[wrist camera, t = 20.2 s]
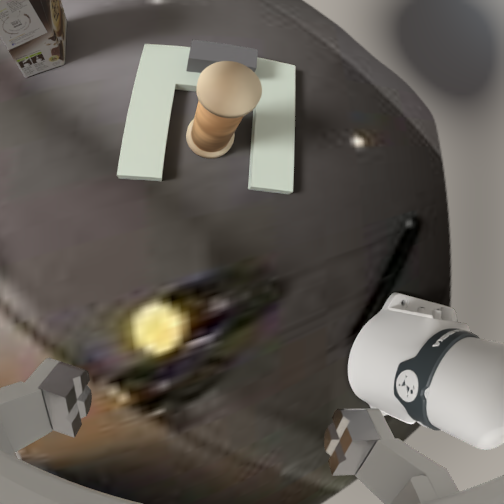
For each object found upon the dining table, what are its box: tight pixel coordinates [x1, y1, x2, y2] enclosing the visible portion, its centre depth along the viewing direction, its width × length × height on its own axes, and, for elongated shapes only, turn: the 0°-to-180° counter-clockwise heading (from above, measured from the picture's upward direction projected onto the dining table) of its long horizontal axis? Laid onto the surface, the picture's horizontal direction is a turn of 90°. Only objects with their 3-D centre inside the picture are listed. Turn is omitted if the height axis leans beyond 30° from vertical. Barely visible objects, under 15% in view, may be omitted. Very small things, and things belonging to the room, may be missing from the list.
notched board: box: [117, 40, 295, 194], centre depth 34 cm, size 20×18×4 cm
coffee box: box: [0, 0, 67, 77], centre depth 23 cm, size 9×6×16 cm
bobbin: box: [186, 61, 262, 159], centre depth 31 cm, size 6×6×12 cm
